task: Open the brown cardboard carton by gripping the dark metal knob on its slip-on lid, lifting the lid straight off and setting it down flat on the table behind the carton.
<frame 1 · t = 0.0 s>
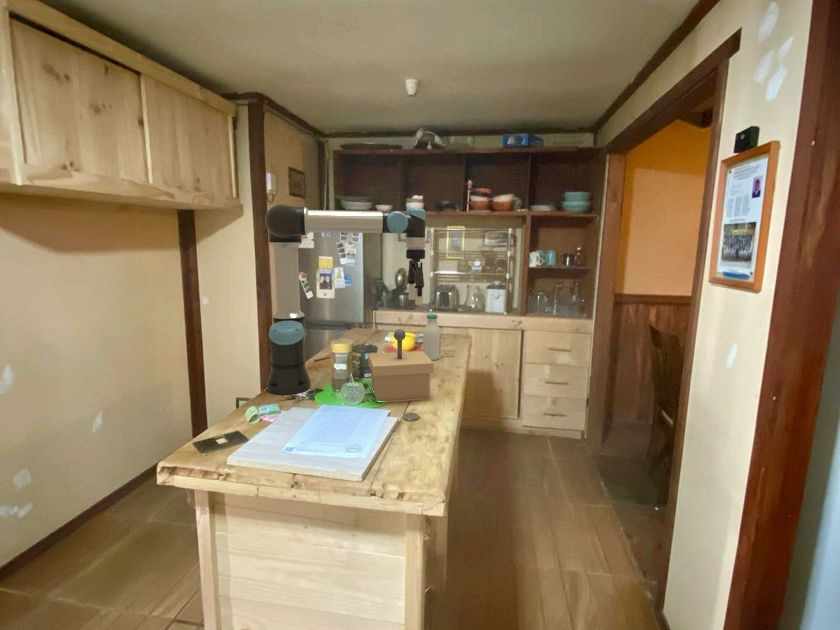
hand: (415, 302, 179), 28 cm above the countertop, tool pointing down, fingers open, 13 cm apart
milk bottle: (431, 358, 200), on the countertop
carton: (399, 393, 155), on the countertop
carton lid: (399, 360, 153), point 12 cm above the countertop, touching carton
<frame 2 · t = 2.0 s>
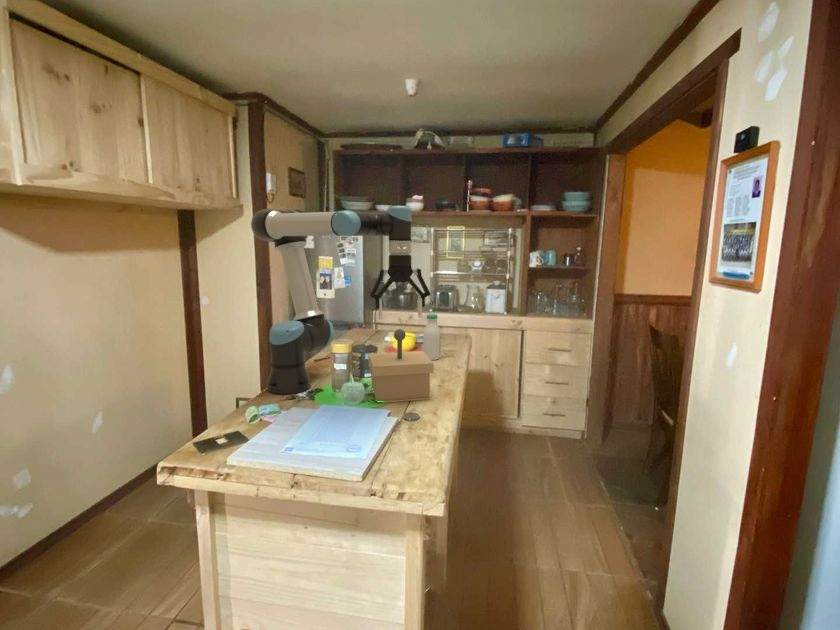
hand: (400, 317, 150), 27 cm above the countertop, tool pointing down, fingers open, 13 cm apart
nothing on the countertop moved.
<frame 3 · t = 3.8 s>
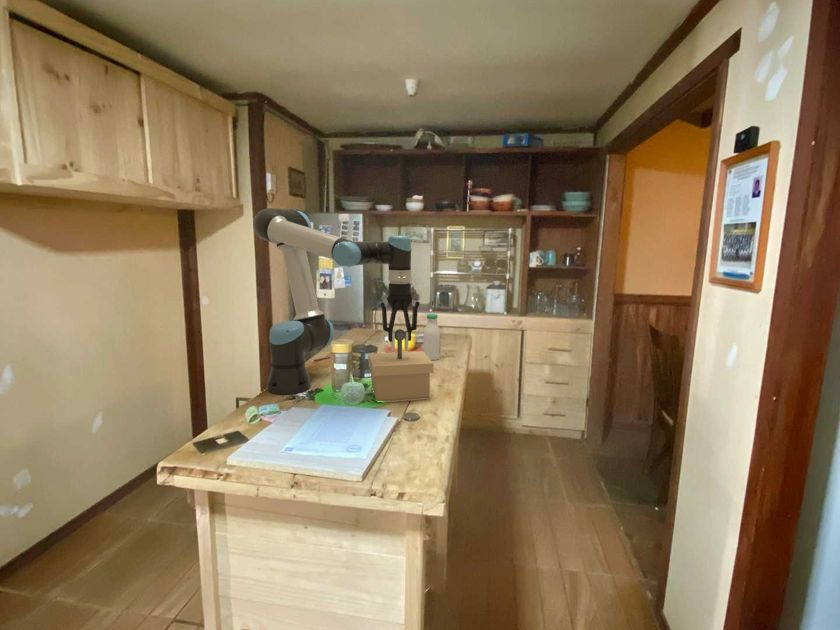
hand: (399, 350, 152), 16 cm above the countertop, tool pointing down, fingers closed on carton lid, 4 cm apart
carton lid: (399, 360, 153), point 12 cm above the countertop, touching carton, gripper
everything else where it was.
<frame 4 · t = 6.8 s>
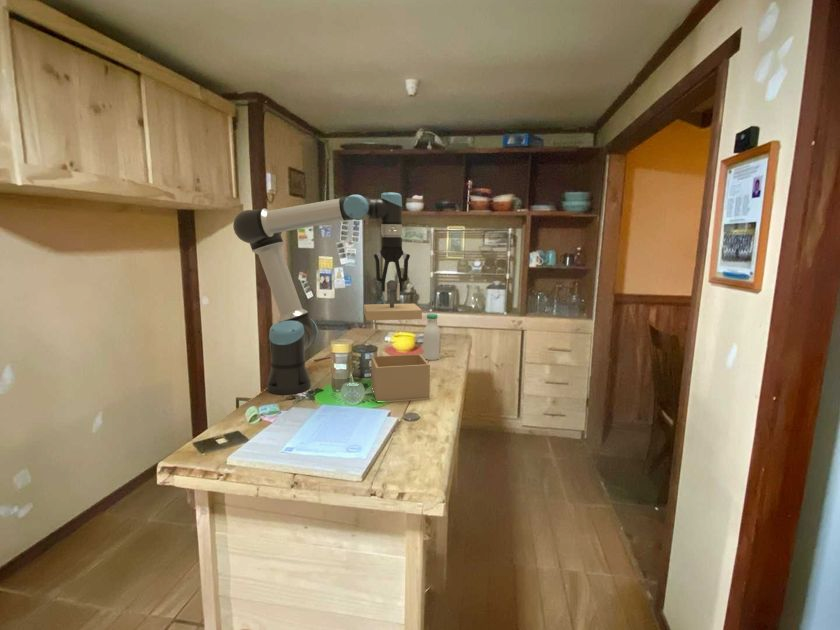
hand: (391, 299, 166), 31 cm above the countertop, tool pointing down, fingers closed on carton lid, 4 cm apart
carton lid: (391, 309, 167), point 27 cm above the countertop, touching gripper
everything else where it was.
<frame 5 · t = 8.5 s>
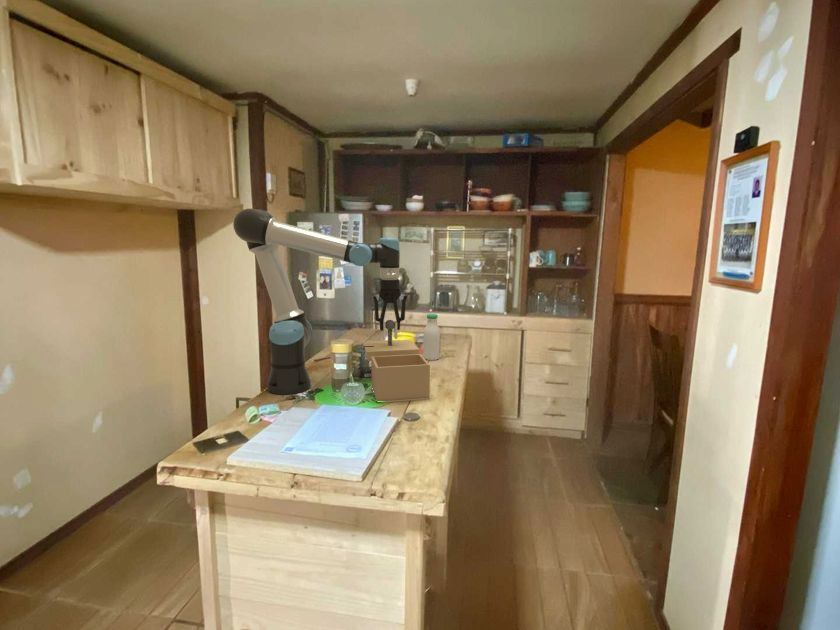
hand: (390, 338, 174), 15 cm above the countertop, tool pointing down, fingers closed on carton lid, 4 cm apart
carton lid: (390, 347, 174), point 11 cm above the countertop, touching gripper
everything else where it was.
when the fingers open (8 cm above the countertop, at t = 10.0 s): carton lid drops 2 cm, point 2 cm above the countertop.
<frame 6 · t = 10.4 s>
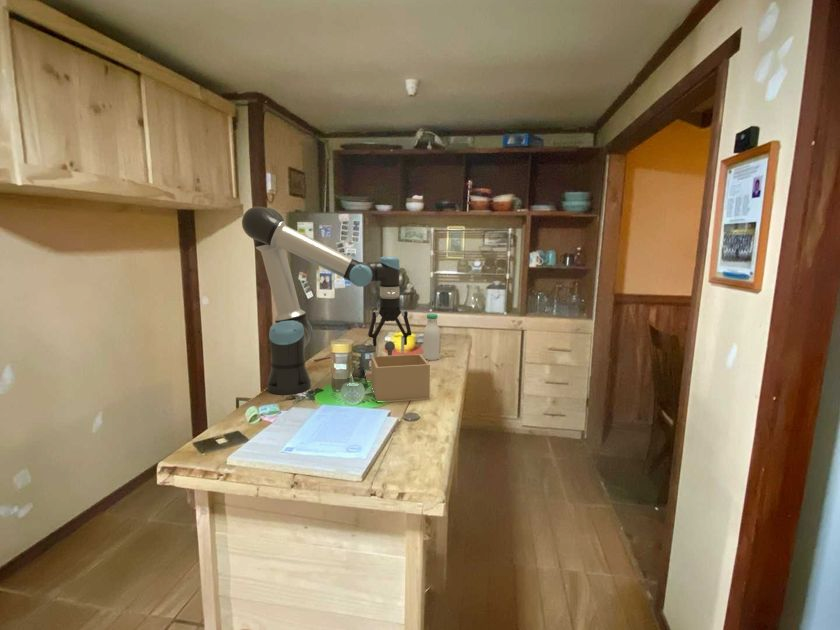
hand: (390, 353, 175), 9 cm above the countertop, tool pointing down, fingers open, 9 cm apart
carton lid: (389, 368, 176), point 2 cm above the countertop
everything else where it was.
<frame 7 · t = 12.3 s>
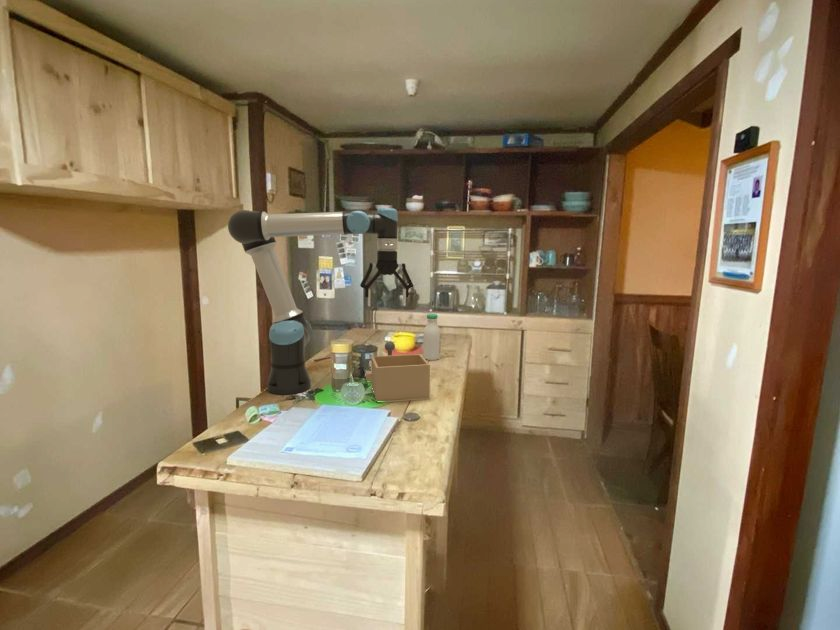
hand: (386, 305, 172), 28 cm above the countertop, tool pointing down, fingers open, 13 cm apart
nothing on the countertop moved.
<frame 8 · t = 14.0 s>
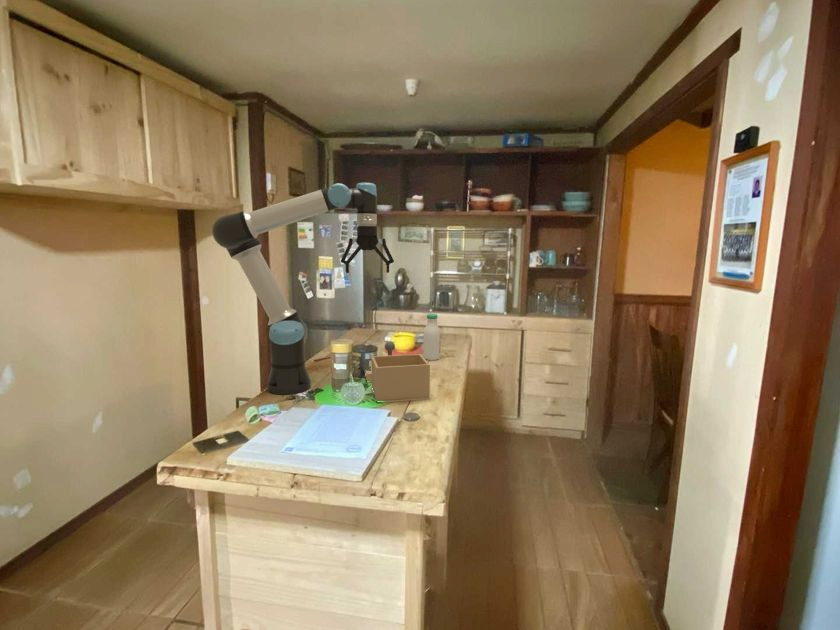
hand: (367, 281, 172), 37 cm above the countertop, tool pointing down, fingers open, 13 cm apart
nothing on the countertop moved.
at the end: carton lid inside the target area (0.1 cm from its centre), point 2.5 cm above the countertop; carton lid touching countertop; the gripper is holding nothing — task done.
